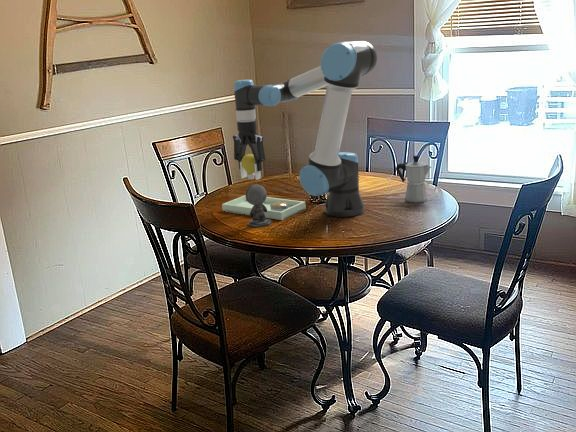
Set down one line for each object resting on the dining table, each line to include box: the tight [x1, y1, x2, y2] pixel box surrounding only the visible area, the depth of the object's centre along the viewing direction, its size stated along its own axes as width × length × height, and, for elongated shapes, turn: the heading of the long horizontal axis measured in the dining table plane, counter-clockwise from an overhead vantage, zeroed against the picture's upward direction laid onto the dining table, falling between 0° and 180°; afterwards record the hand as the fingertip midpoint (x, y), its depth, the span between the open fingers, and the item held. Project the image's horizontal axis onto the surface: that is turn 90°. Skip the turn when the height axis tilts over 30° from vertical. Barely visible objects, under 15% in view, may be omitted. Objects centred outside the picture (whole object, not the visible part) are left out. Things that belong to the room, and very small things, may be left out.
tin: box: [270, 202, 288, 211], centre depth 229 cm, size 7×7×3 cm
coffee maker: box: [395, 155, 432, 204], centre depth 232 cm, size 15×9×18 cm, turn 56°
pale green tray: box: [221, 194, 307, 221], centre depth 234 cm, size 30×16×3 cm, turn 54°
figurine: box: [245, 183, 273, 229], centre depth 215 cm, size 9×10×15 cm
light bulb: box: [241, 153, 256, 180], centre depth 232 cm, size 7×7×10 cm
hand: (251, 178), depth 233 cm, fingers closed on light bulb, 7 cm apart
